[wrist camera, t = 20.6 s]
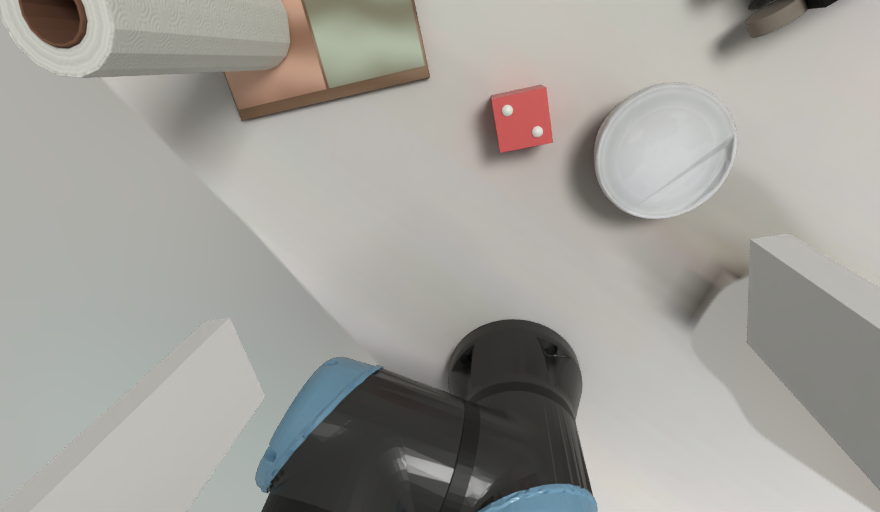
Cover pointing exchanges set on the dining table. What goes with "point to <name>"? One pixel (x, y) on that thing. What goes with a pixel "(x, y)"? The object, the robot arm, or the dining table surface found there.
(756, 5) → the figurine character
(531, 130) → the red die
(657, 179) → the ramekin
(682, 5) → the dining table surface
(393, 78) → the game board
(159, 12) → the paper towel roll
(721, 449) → the dining table surface
